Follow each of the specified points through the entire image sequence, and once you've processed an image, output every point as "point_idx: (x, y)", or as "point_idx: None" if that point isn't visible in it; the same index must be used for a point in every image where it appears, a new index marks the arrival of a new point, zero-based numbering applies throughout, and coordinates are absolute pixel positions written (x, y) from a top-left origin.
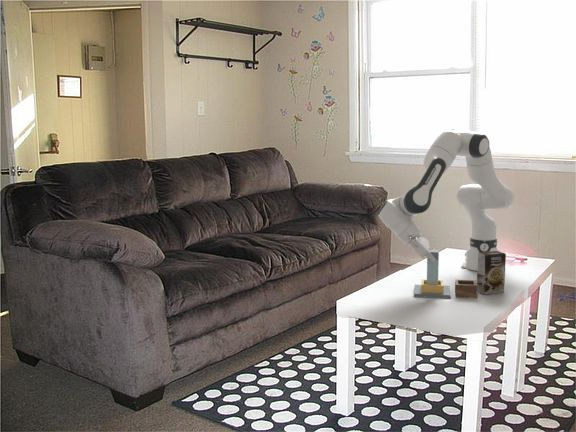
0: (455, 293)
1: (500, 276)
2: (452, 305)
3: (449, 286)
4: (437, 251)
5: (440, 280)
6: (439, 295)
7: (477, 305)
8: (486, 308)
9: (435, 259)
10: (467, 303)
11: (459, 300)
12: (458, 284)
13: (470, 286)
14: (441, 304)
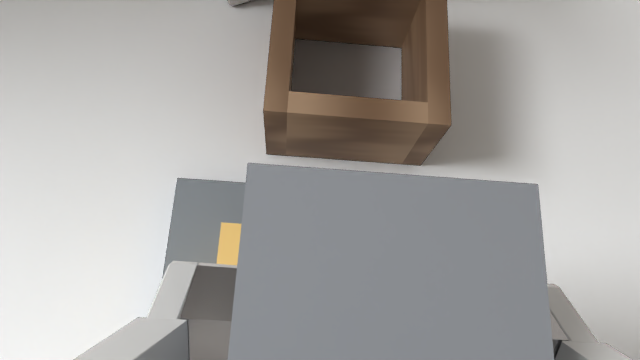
0: (379, 156)
1: None
2: (635, 210)
3: (197, 180)
4: (438, 206)
5: (232, 249)
6: None
7: (587, 56)
8: (634, 18)
9: (549, 289)
10: (559, 108)
11: (500, 149)
12: (438, 103)
13: (444, 23)
14: (635, 287)
